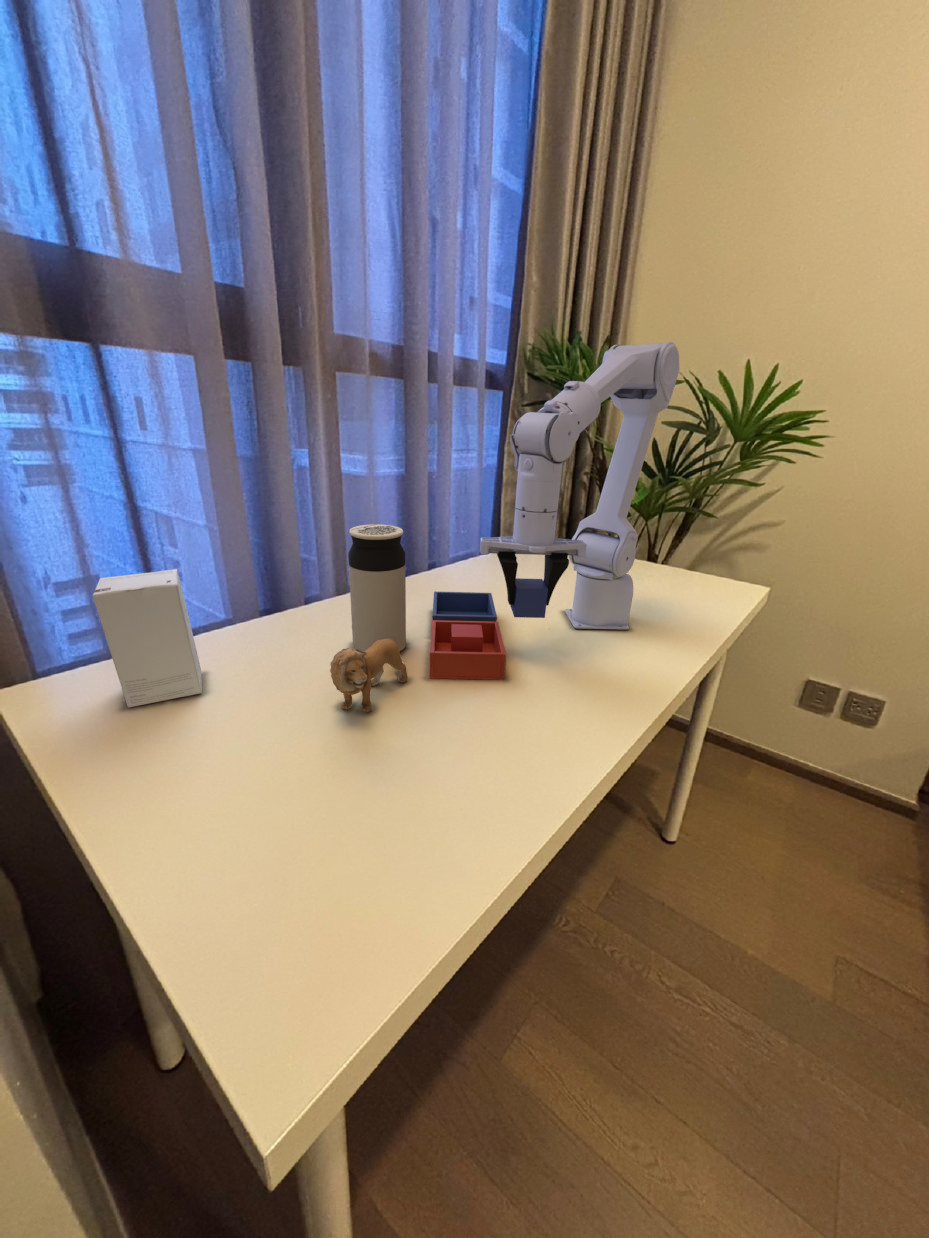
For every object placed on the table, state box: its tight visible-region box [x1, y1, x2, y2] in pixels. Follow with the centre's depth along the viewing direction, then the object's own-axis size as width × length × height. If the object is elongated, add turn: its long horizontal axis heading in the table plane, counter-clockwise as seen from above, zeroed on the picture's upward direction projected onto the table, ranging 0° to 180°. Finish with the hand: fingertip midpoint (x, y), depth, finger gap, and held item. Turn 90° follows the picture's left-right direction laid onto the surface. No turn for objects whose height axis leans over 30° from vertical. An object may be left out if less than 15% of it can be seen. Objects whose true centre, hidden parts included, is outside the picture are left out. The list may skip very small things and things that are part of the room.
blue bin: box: [431, 590, 498, 622], centre depth 85 cm, size 10×11×4 cm
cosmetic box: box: [92, 568, 203, 708], centre depth 60 cm, size 8×6×15 cm
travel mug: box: [347, 523, 407, 652], centre depth 74 cm, size 8×8×18 cm
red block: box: [451, 624, 483, 652], centre depth 73 cm, size 4×4×4 cm
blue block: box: [510, 577, 548, 619], centre depth 73 cm, size 4×4×4 cm
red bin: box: [429, 619, 507, 681], centre depth 73 cm, size 10×11×4 cm
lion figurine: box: [329, 639, 408, 713], centre depth 62 cm, size 15×5×9 cm, turn 162°
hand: (527, 602), depth 73 cm, fingers closed on blue block, 4 cm apart
